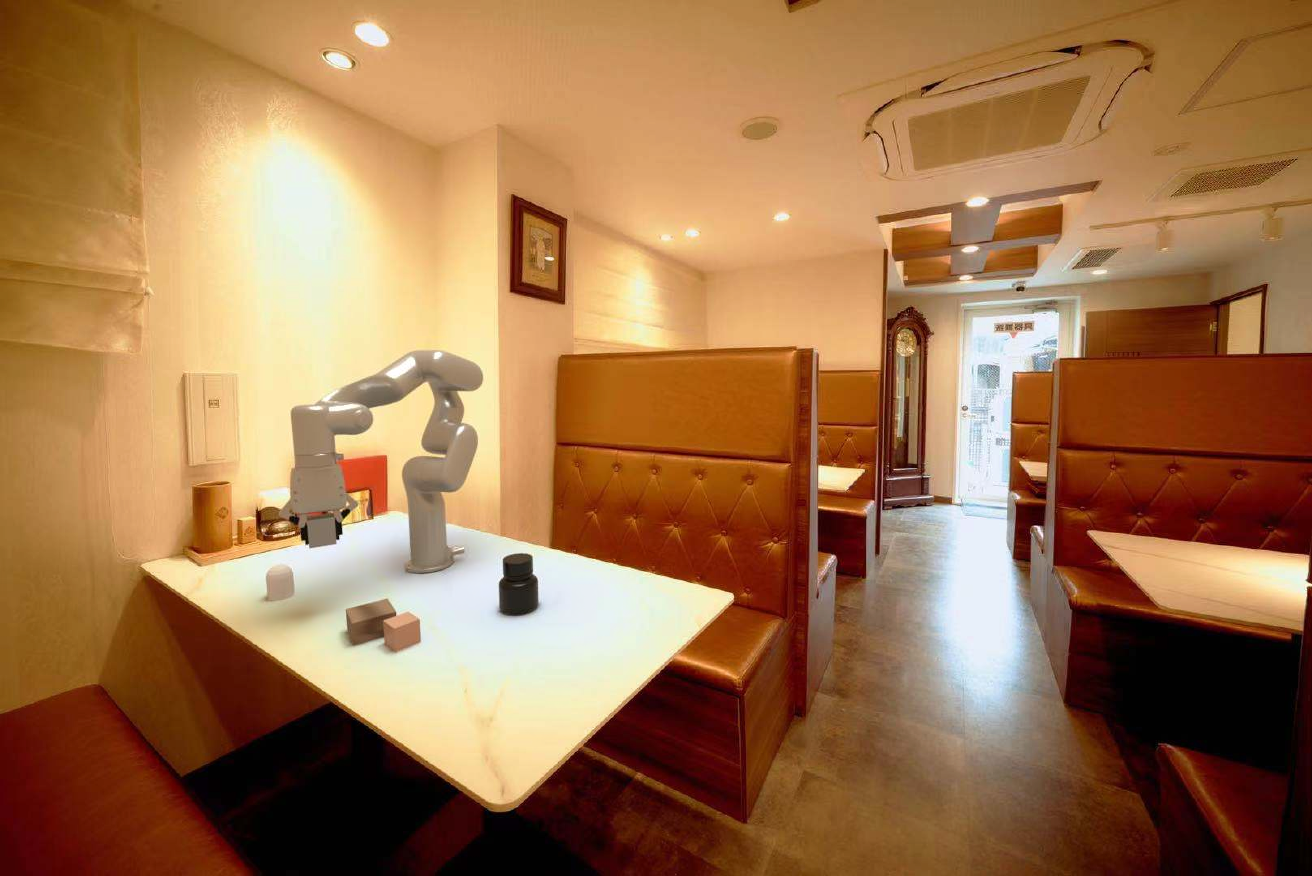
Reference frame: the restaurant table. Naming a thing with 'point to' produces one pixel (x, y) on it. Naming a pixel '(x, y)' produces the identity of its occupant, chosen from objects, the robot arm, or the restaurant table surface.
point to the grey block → (321, 530)
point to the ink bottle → (518, 585)
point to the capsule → (280, 582)
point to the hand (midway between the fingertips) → (322, 540)
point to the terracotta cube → (401, 631)
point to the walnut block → (368, 620)
